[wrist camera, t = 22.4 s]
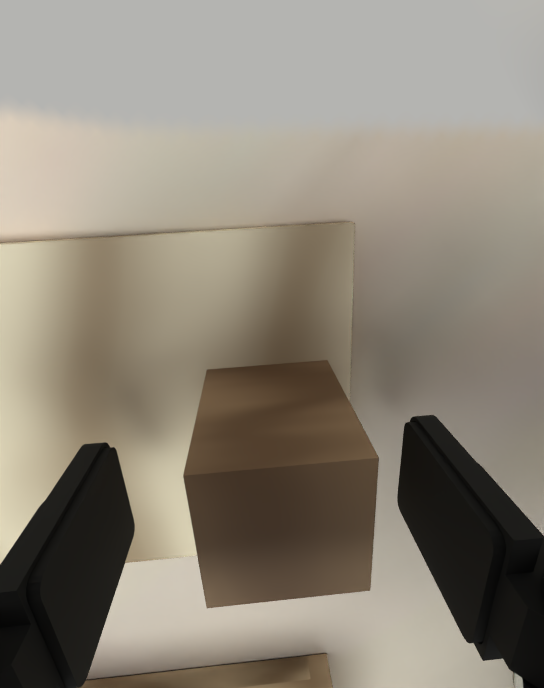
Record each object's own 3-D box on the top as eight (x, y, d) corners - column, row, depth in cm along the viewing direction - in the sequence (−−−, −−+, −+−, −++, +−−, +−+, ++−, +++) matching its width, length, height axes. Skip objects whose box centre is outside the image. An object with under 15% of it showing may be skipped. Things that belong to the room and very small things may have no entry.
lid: (344, 221, 12) (440, 239, 6) (339, 517, 16) (390, 688, 11) (-201, 254, 11) (-692, 312, 5) (-45, 555, 16) (-215, 761, 10)
